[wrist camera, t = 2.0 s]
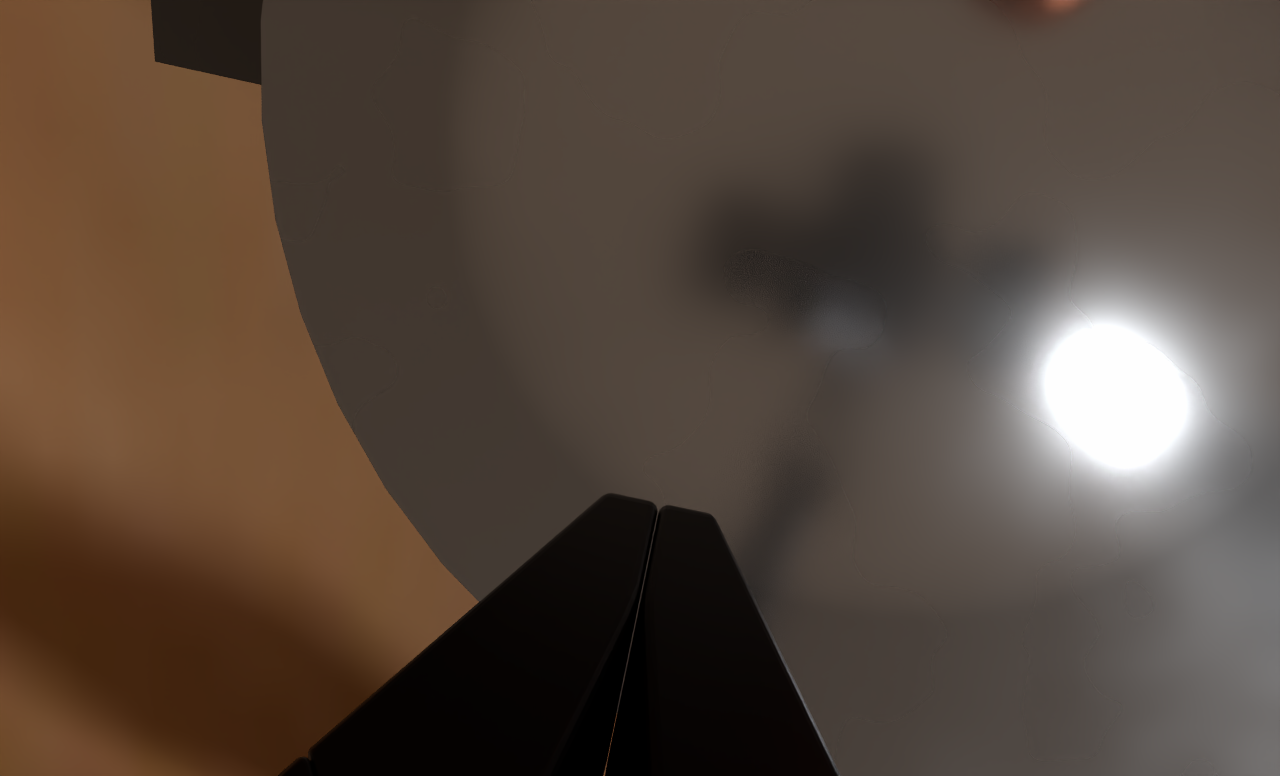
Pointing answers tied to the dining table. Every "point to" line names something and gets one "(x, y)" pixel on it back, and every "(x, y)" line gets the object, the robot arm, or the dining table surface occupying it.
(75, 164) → the dining table surface
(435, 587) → the dining table surface
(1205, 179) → the lid
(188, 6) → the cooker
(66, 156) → the dining table surface
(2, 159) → the dining table surface
